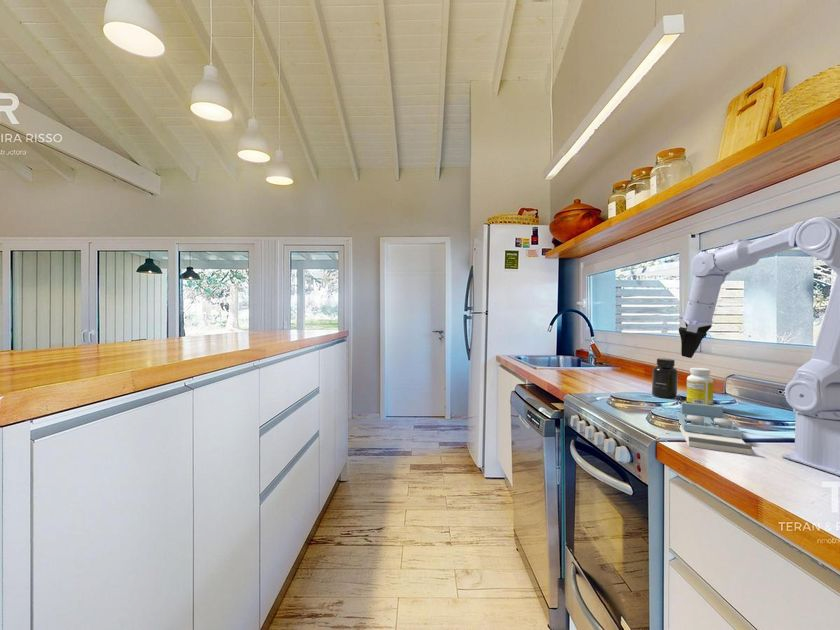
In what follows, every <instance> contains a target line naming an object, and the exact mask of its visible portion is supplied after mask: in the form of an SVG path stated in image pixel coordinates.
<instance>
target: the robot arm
mask: <svg viewBox="0 0 840 630" xmlns="http://www.w3.org/2000/svg"><path fill="white" fill-rule="evenodd" d="M732 243H733V244H730V245H728V246H726V247H717V248H715V249H714V251H712V252H708V251H700V252H698V253H697V254H696V255H694V256H693V257H692V259H691V261H690V270H691V273H692V274H693V278H692V282H691V287H690V292H689V295H688V299H687V300H688V301H687V305H686V308H685V311H684V312H685V313H684V315H683V314H679V315H678V318H677V319H679V320H683V321H684V324H685V327H682V326H680V327H679V328H678V333H679V334H678V335H679V336H680V340H681V341H680V342H681V344H680V345H681V349H680V350H681V353H680V354H681V356H682V357H684V358H688V359H692V358H693V356H694V354H695V353H696V351H697V350H698V349H699V346H700V345H701V343H702V341H703V339H704V338H705V337H706V336H707V333H708V331H709V330H710V329H711V328H712V327H713V322H714V321H713V319H714V314H715V310H716V306H717V303H718V298H719V294H720V291H721V288H722V287H721V286H722V285H723V284H724V283H725V281H726V278H727V276H729V275H730V274H731V272H734V271H737V270H741V269H745V268H748V267H751V266H754V265H756V264H757V263H758V262H759V261H760V259H761V258H762V257H765V256H770V255H773V254H777V253H780V252H785V251H789V250H792V249H795V248H796V249H797V248H799V250H801V251H802V252H803V253H805V254H808V255H809V256H811V257H814V258H815V259H816V260H817V259H818V260H820V261H821V262H824V263H825V264H826V265H827V266H828V267H829V269H831V270H832V271H833V272H834V273H836V277H835V280H834V283H833V286H832V290H831V293H830V296H829V300H828V303H827V307H826V309H825V313H824V316H823V319H822V323H821V326H820V330H819V331H818V332H819V333H818V336H817V340H816V342H815V346H814V350H813V352H812V355H811V356H812V357H811V359H810V360H808V361H807V362H805V363H804V364H803V365H802V366H801V365H800V367H798V368H797V370H796V372H795V374H794V376H793V378H792V379H791V380H790V381H789V382H788V383H787V384H786V386H785V387H784V396H785V400H786V401H787V403H788V405H789V406H790V407H791V408H792V413H795V426H794V430H795V431H794V452H789V453H782V454H781V457H782V458H784V459H787V460H791V461H794V462H798V463H801V464H803V465H806V466H809V467H812V468H815V469H819V470H820V471H824V472H827V473H830V474H833V475H836V476H839V477H840V218H835V217H833V218H831V217H826V216H817V217H813V218H810V219H808V220H803V221H799V222H796V223H795V224H794V225H792V226H791V227H788V228H785V229H783V230H780V231H779V232H776V233H773V234H771V235H769V236H766V237H764V238H761V239H759V240H756V241H754V242H753V241H751V240H746V239H736V240H733V242H732Z"/></svg>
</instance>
